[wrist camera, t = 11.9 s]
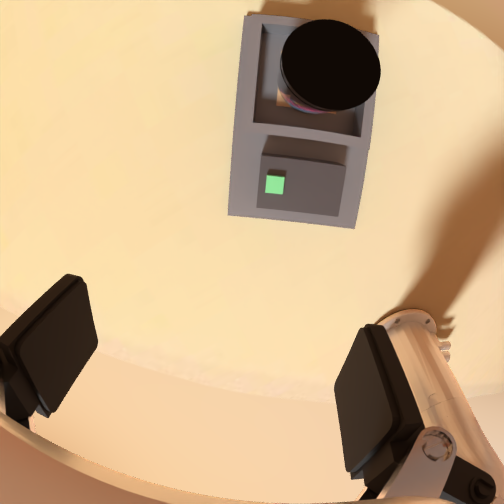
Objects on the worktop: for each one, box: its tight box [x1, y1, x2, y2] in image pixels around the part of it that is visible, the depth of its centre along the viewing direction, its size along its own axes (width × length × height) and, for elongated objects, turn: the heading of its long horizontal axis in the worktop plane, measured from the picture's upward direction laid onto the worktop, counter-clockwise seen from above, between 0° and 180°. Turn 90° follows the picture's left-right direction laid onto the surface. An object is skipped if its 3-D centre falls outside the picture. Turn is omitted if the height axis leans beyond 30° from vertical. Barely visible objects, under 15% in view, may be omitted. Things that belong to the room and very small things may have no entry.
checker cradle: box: [228, 14, 379, 229], centre depth 25 cm, size 14×22×5 cm, turn 175°
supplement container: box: [277, 19, 381, 114], centre depth 20 cm, size 7×7×10 cm
